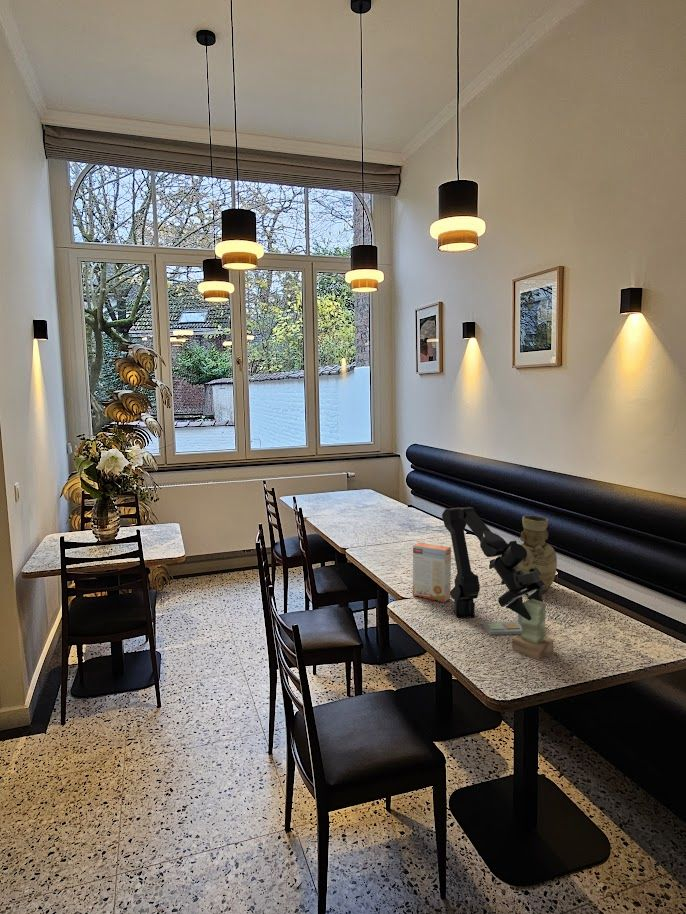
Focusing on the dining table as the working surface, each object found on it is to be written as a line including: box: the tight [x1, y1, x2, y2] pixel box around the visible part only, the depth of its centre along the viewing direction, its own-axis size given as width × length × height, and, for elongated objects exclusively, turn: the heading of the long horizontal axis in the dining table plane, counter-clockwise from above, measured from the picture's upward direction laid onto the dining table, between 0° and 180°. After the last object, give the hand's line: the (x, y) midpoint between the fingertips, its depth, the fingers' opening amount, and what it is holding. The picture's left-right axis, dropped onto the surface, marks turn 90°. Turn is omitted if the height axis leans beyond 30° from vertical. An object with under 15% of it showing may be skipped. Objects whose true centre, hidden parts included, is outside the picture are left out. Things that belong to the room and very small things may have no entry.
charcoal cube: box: [517, 613, 522, 627], centre depth 204 cm, size 6×6×6 cm
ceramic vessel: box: [515, 515, 558, 594], centre depth 240 cm, size 19×21×30 cm
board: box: [482, 621, 522, 636], centre depth 201 cm, size 12×8×1 cm, turn 94°
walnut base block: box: [511, 634, 555, 660], centre depth 185 cm, size 9×9×4 cm
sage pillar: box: [521, 599, 547, 644], centre depth 184 cm, size 5×5×12 cm
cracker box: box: [412, 542, 452, 603], centre depth 230 cm, size 14×6×21 cm, turn 56°
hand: (537, 616), depth 183 cm, fingers open, 8 cm apart
